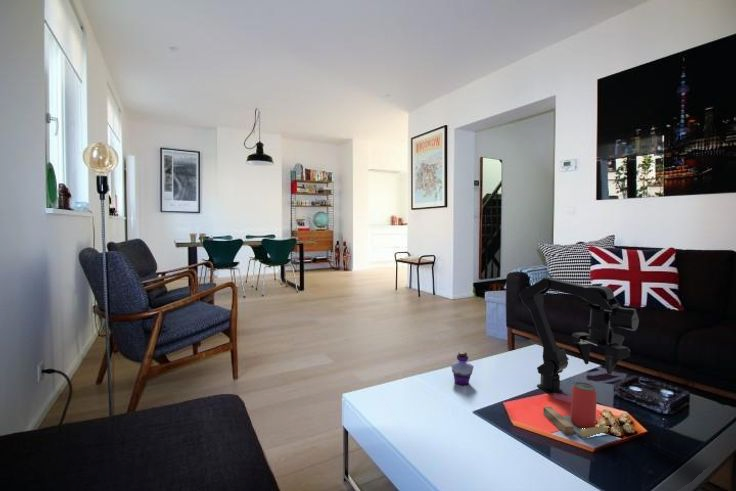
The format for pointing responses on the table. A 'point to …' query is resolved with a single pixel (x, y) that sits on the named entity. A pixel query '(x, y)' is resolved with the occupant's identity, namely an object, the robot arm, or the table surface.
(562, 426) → the walnut rail
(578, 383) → the beer can
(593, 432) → the grey flat slab
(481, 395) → the table surface
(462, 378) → the potion bottle
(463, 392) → the table surface
